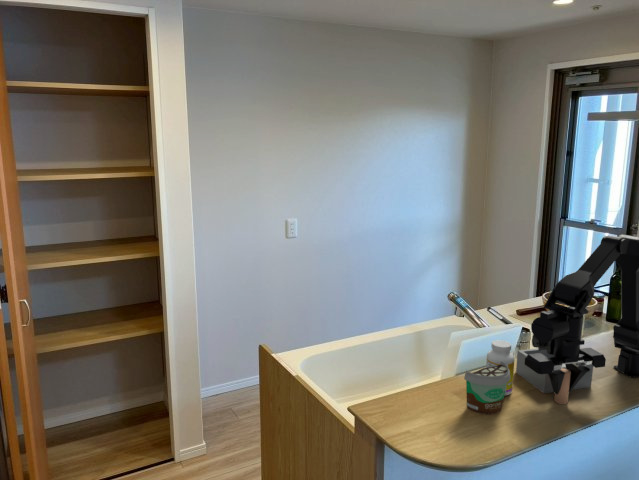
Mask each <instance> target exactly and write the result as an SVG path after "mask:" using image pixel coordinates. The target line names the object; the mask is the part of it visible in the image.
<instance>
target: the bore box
mask: <svg viewBox="0 0 639 480" xmlns="http://www.w3.org/2000/svg"><path fill="white" fill-rule="evenodd" d="M536 353H541V354H543V355H544V356H546V357H547V358H550V357H553V355H552V354H548V353H547V350H539V349H538V348H536V347H535V348H528V349H518V350H517V356H516V367H515V373H516V372H517V373H518V374H517V373H516V374H517V375H519V376H520V377H521V376H522V377H521V378H523V379H524V380H525V381H527V383H529V384H530V385H532V386H533V387H535V388H536V389H537V390H539V391H540V392H542V393H543V394H548V393H554V391H553V388H552V384H551V381H550V378H549V375H548V374H537V373H536V372H535V371H533V370H532V369H530V368H529V367H527V366H526V365H525V357H526V356H527V355H528V354H536ZM586 367H588V368H589V369H590V371H589V372H587V373H586V374H585V375H584V376H583V377H582V378H581V379H580V380H579V382H578V383H577V384H576V385H575V387H574V388H573V389H572V390H571V391H573V390H578V389H586V388H587V389H588V388H591V387H592V380H593V373H594V366H593V365H592V361H588V362H586ZM561 368H564V369H567V368H566V365H565V364H563V365H562V366H561Z"/></svg>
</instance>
